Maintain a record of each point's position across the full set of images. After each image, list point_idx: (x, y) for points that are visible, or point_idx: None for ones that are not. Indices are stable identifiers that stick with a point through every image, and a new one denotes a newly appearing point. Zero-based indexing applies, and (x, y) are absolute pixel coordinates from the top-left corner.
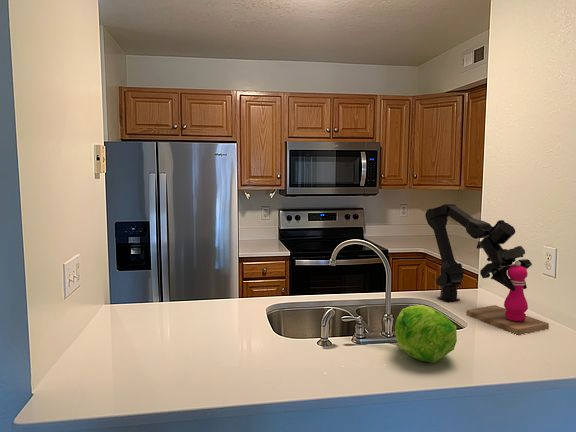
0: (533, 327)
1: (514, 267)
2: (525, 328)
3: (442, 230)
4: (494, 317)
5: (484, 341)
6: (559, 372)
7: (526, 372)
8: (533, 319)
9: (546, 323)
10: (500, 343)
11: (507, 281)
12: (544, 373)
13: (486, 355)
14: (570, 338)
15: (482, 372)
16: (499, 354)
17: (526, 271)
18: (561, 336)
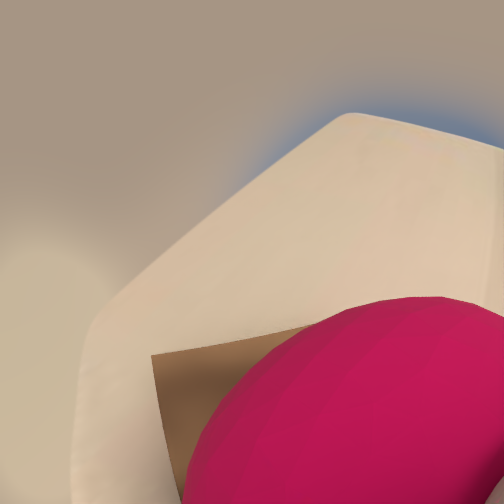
0: (254, 338)
1: None
2: (305, 326)
3: None
4: None
5: (463, 291)
6: (359, 124)
7: (418, 141)
8: (180, 422)
9: (162, 358)
10: (428, 269)
11: None
12: (388, 129)
13: (473, 214)
14: (162, 258)
15: (483, 165)
16: (448, 210)
17: (299, 341)
18: (176, 280)
